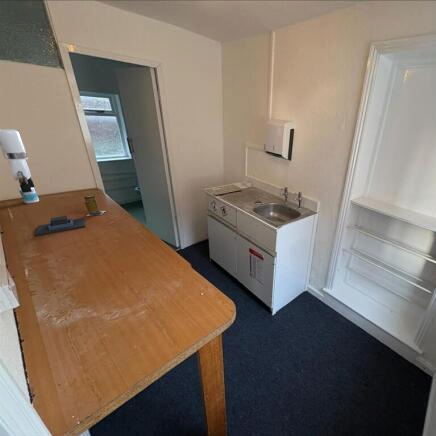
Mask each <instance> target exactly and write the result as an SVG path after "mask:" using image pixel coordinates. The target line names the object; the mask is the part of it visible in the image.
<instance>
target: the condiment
mask: <svg viewBox="0 0 436 436" xmlns="http://www.w3.org/2000/svg"><path fill="white" fill-rule="evenodd" d="M83 198H84V204H85V207H86V210H87V213H88V214H86V217H89V216H102V215H103V214H105V213H106V210H101V209H100V206H99V203H98V200H97V198H96V196H95V195H94V194H88V195H84V197H83ZM104 212H105V213H104Z"/></svg>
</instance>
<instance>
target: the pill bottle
mask: <svg viewBox="0 0 436 436" xmlns="http://www.w3.org/2000/svg"><path fill="white" fill-rule="evenodd" d="M18 185H19V187H18V192H19V194H20V196H21V198H22V200H23V201H22V202H23V203H24V204H35V203H36V204H37V203H38V202H40V198H39V196H38V193H37V192H36V189H35V187H33V188H31V190H32V192H25V193H23V192H22V190H21V187H20V184H19V183H18Z"/></svg>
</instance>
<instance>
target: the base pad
mask: <svg viewBox="0 0 436 436" xmlns="http://www.w3.org/2000/svg"><path fill="white" fill-rule="evenodd" d="M68 221H69V223H67V224H61V225H56V226H52V224H51V222H50V221H49V223H45V224H40V225H37V228H36V231H35V234H34V236H35V237H40V236H41V237H42V236H46V235H50V234H56V233H57V234H58V233H62V232H67V231H72V230H78V229H82V228H83V229H84V228H86V219H85V217H80V218H74V219H73V218H68Z"/></svg>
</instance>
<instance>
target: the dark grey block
mask: <svg viewBox="0 0 436 436" xmlns="http://www.w3.org/2000/svg"><path fill="white" fill-rule="evenodd" d="M68 219H69V218H68V216H67V215H63V216H56V217H51V218H50V221H49V222H51V224H52V226H56V225H61V224H67V223H69V221H68Z"/></svg>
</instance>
